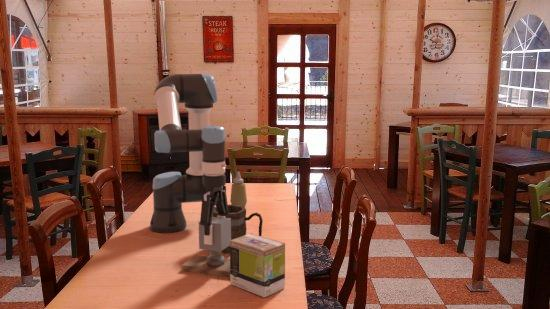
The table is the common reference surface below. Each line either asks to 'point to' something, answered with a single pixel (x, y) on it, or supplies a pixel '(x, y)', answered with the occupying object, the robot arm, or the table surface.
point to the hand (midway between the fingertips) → (215, 239)
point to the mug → (238, 222)
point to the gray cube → (217, 234)
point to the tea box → (257, 264)
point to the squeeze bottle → (238, 192)
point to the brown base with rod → (209, 264)
